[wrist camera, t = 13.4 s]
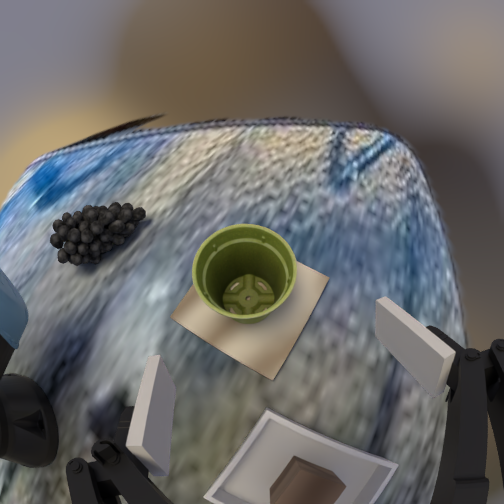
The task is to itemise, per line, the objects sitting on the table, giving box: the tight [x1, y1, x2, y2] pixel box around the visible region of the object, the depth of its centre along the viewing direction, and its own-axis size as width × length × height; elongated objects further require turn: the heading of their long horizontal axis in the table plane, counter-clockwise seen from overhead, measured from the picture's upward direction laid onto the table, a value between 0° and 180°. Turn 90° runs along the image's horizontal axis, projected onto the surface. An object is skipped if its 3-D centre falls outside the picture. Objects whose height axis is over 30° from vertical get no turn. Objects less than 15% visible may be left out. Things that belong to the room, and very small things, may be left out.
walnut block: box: [269, 456, 347, 504], centre depth 19 cm, size 5×5×6 cm
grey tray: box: [203, 407, 398, 504], centre depth 21 cm, size 16×12×4 cm
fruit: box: [50, 202, 146, 266], centre depth 35 cm, size 9×8×15 cm
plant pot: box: [192, 224, 297, 324], centre depth 29 cm, size 9×9×9 cm
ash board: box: [170, 261, 329, 381], centre depth 33 cm, size 14×14×1 cm
